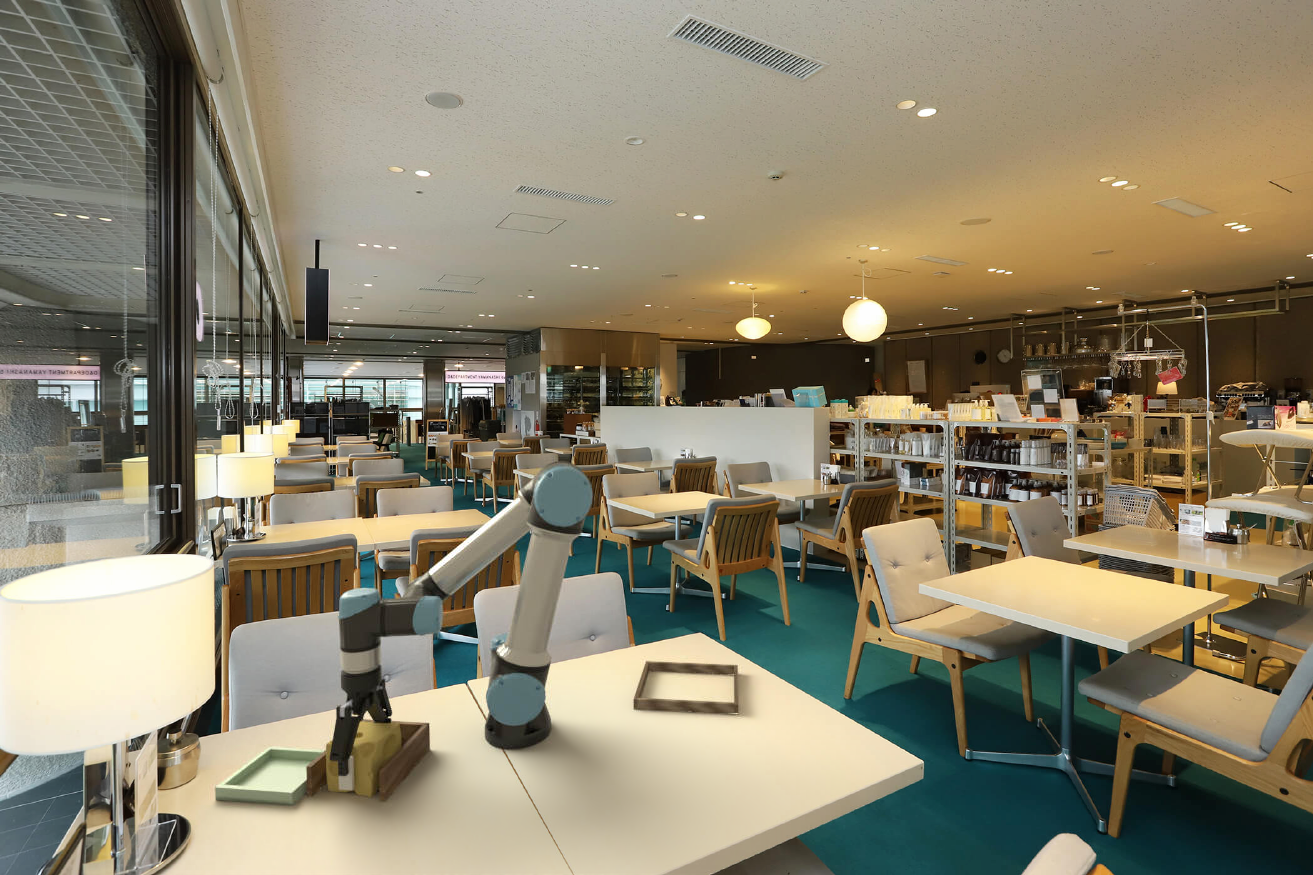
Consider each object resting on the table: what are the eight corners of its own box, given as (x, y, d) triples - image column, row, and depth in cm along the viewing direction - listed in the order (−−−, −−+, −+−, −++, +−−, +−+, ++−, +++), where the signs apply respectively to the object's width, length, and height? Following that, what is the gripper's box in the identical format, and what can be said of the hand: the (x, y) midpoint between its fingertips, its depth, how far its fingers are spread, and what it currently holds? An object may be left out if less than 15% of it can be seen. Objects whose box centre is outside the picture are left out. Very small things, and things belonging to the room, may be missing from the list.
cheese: (372, 798, 127) (370, 748, 127) (323, 791, 129) (321, 742, 129) (403, 768, 137) (401, 722, 137) (357, 763, 140) (356, 717, 139)
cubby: (430, 749, 145) (429, 722, 144) (384, 801, 126) (383, 771, 126) (361, 745, 147) (361, 718, 146) (307, 796, 128) (306, 766, 127)
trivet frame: (737, 673, 184) (737, 665, 184) (738, 714, 160) (738, 704, 160) (646, 669, 187) (646, 660, 187) (633, 709, 163) (633, 699, 163)
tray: (339, 761, 140) (338, 750, 140) (292, 805, 125) (291, 792, 125) (269, 757, 142) (269, 746, 142) (215, 799, 127) (215, 787, 127)
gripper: (375, 643, 144) (377, 739, 145) (305, 691, 121) (309, 805, 122) (407, 645, 143) (410, 741, 145) (344, 693, 120) (347, 808, 121)
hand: (364, 771), depth 133 cm, fingers open, 11 cm apart
